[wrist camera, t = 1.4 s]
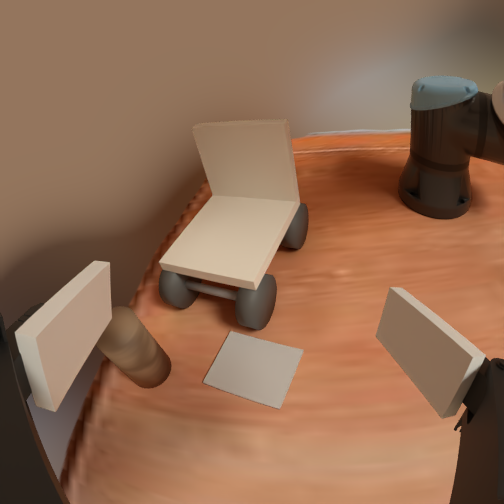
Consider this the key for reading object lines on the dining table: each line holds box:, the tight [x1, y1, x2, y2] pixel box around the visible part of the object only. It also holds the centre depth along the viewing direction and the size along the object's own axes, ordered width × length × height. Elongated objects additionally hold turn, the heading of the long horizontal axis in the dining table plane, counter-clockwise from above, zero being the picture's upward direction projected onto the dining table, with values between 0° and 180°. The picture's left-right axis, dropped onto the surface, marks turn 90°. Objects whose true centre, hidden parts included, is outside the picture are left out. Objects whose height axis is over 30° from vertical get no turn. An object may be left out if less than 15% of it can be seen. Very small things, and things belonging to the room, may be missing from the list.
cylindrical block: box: [95, 306, 171, 388], centre depth 36 cm, size 6×6×10 cm
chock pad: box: [203, 331, 303, 410], centre depth 36 cm, size 8×10×1 cm
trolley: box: [159, 119, 308, 330], centre depth 42 cm, size 22×14×20 cm, turn 156°
